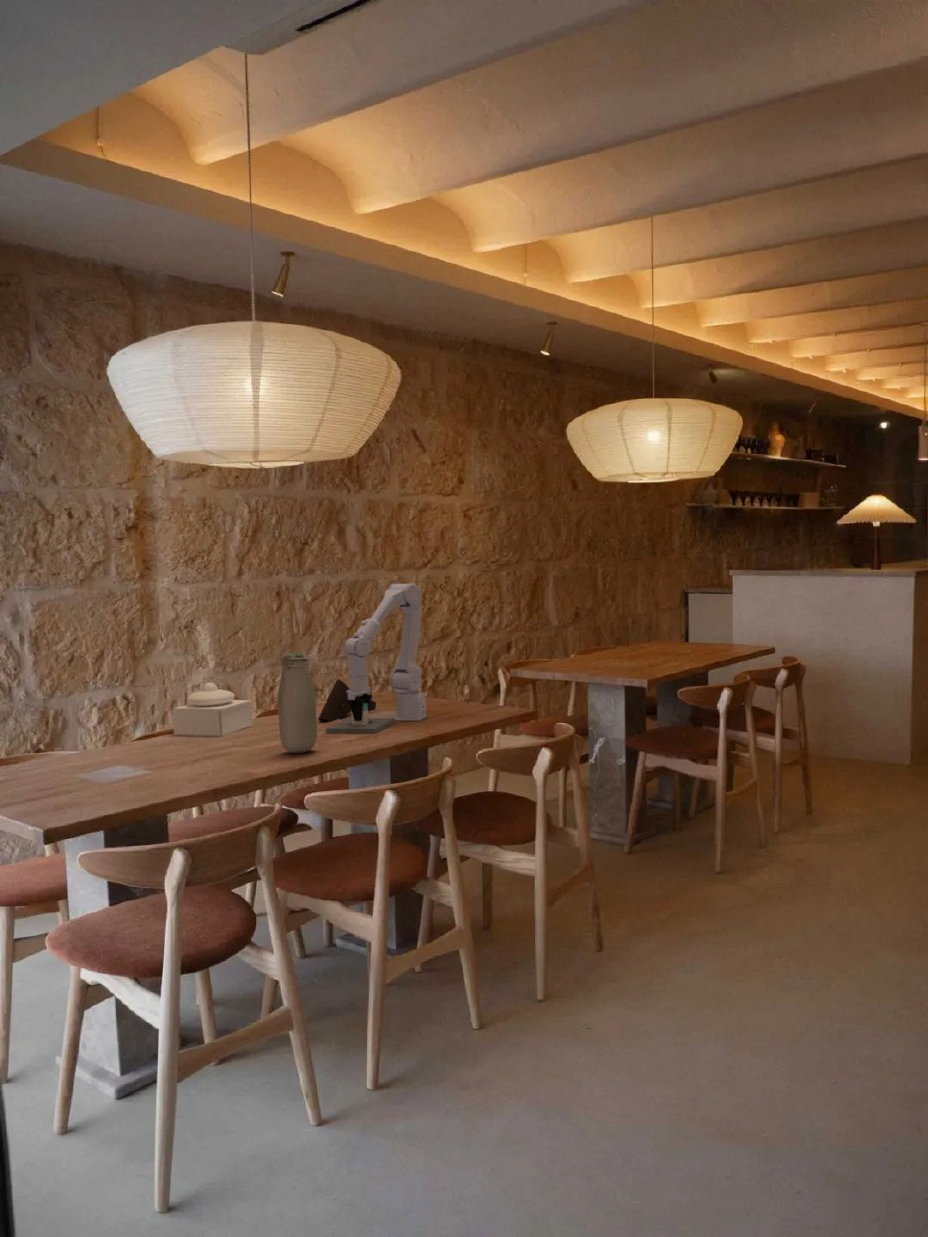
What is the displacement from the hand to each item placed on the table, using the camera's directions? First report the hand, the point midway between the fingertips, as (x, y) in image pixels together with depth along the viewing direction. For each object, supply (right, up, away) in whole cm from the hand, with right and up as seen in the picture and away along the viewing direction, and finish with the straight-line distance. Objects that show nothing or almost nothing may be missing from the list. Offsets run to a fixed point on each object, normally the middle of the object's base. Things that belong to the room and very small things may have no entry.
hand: (360, 719), depth 310 cm
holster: (-7, -2, +26) cm, 27 cm away
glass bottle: (-13, -6, -34) cm, 37 cm away
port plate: (0, -3, 0) cm, 3 cm away
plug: (0, -2, 0) cm, 2 cm away
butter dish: (-48, -5, +8) cm, 49 cm away
